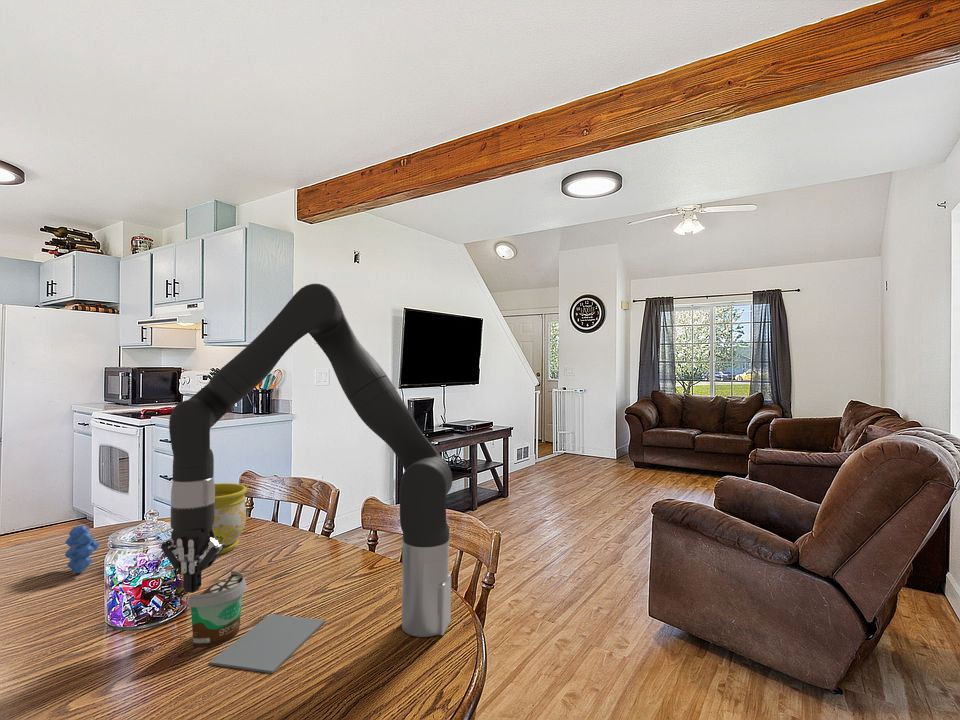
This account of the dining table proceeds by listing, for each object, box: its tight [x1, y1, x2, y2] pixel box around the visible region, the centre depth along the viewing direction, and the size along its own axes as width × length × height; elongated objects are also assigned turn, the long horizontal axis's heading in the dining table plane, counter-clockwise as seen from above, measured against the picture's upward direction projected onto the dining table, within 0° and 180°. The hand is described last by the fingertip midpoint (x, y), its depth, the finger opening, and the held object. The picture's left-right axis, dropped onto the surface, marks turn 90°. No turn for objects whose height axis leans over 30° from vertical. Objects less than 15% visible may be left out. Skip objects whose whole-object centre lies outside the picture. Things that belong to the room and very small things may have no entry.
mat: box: [208, 613, 326, 674], centre depth 99 cm, size 12×18×1 cm
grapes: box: [64, 524, 101, 575], centre depth 130 cm, size 12×7×12 cm, turn 55°
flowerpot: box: [206, 482, 248, 555], centre depth 147 cm, size 18×18×16 cm
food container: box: [187, 570, 248, 648], centre depth 101 cm, size 12×6×10 cm, turn 168°
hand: (192, 590), depth 102 cm, fingers closed
